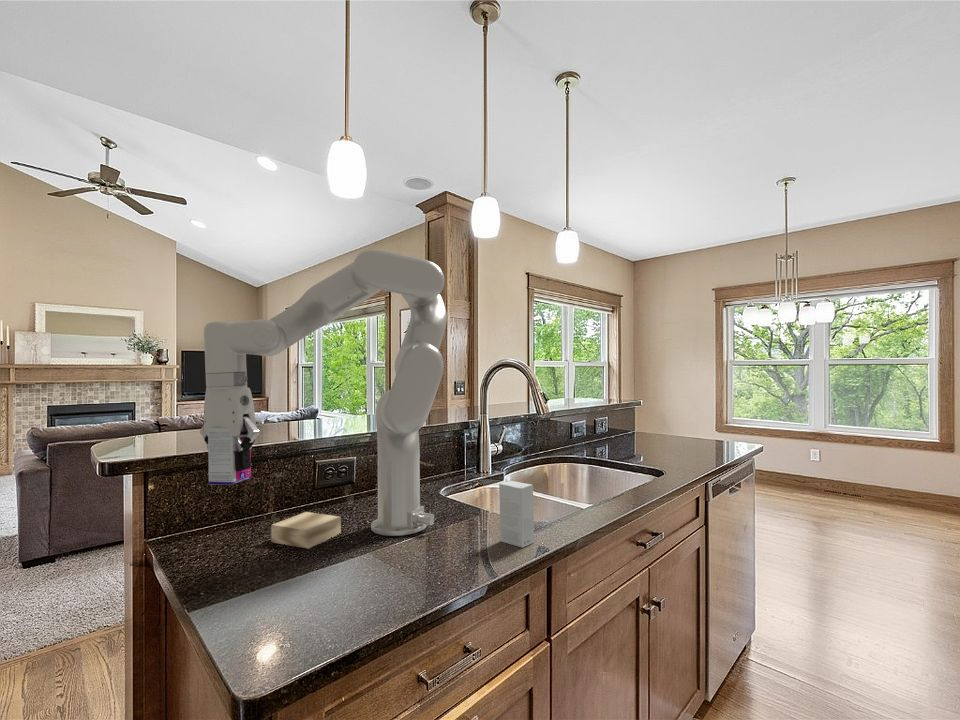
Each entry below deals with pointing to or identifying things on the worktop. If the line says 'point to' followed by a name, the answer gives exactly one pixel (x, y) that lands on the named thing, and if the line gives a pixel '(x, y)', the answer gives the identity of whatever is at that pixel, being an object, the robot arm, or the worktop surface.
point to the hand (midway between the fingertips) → (230, 468)
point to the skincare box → (516, 513)
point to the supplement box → (224, 458)
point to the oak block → (305, 529)
